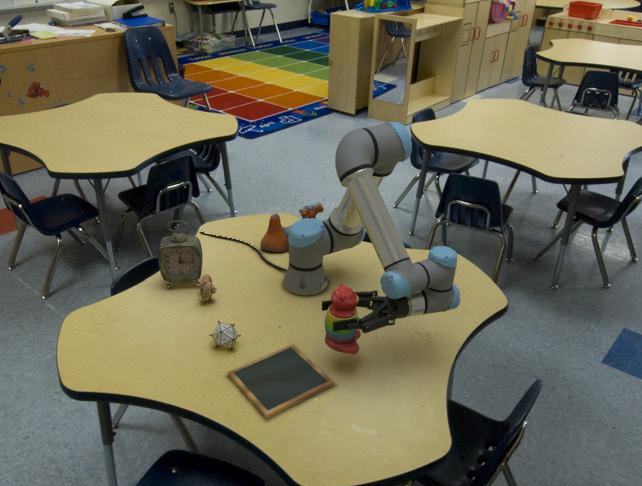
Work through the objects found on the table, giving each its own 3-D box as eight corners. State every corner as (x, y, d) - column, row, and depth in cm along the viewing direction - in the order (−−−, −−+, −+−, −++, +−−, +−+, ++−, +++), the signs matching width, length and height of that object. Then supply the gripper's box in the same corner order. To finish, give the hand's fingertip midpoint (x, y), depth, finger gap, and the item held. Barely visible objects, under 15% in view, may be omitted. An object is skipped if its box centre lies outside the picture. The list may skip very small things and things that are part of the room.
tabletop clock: (162, 291, 203) (153, 227, 190) (164, 277, 211) (156, 214, 198) (204, 289, 204) (198, 225, 191) (205, 275, 211) (199, 213, 198)
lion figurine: (218, 307, 194) (217, 285, 189) (203, 310, 193) (200, 287, 188) (212, 284, 206) (210, 262, 202) (197, 286, 205) (195, 264, 201)
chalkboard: (228, 375, 166) (228, 371, 165) (291, 347, 176) (291, 343, 175) (266, 419, 151) (266, 414, 150) (333, 385, 161) (333, 381, 161)
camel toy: (260, 254, 223) (258, 213, 214) (261, 237, 235) (259, 198, 226) (325, 254, 223) (327, 213, 214) (323, 237, 234) (324, 197, 225)
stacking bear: (358, 355, 159) (363, 301, 150) (321, 351, 161) (323, 298, 151) (361, 331, 168) (365, 279, 159) (326, 327, 170) (327, 276, 160)
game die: (232, 352, 180) (250, 329, 177) (221, 361, 172) (240, 337, 169) (210, 333, 181) (228, 310, 178) (199, 341, 173) (217, 317, 170)
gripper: (420, 338, 156) (340, 351, 152) (387, 293, 174) (315, 305, 170) (423, 315, 152) (341, 328, 148) (390, 272, 170) (315, 283, 166)
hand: (327, 316), depth 159 cm, fingers closed on stacking bear, 9 cm apart
